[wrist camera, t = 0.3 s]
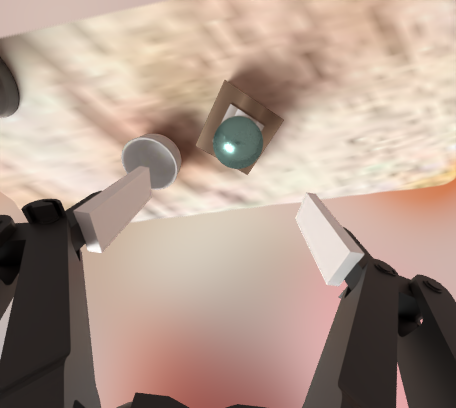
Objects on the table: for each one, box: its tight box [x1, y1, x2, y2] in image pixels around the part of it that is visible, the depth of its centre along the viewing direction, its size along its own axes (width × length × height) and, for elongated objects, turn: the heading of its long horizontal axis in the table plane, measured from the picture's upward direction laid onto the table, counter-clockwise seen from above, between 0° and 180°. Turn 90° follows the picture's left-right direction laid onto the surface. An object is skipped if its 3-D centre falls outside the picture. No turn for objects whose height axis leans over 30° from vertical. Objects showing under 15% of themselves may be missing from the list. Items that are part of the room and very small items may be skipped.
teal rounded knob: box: [213, 115, 263, 169], centre depth 31 cm, size 7×7×15 cm
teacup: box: [121, 133, 181, 190], centre depth 38 cm, size 14×11×8 cm
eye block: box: [195, 80, 284, 175], centre depth 35 cm, size 12×12×6 cm
